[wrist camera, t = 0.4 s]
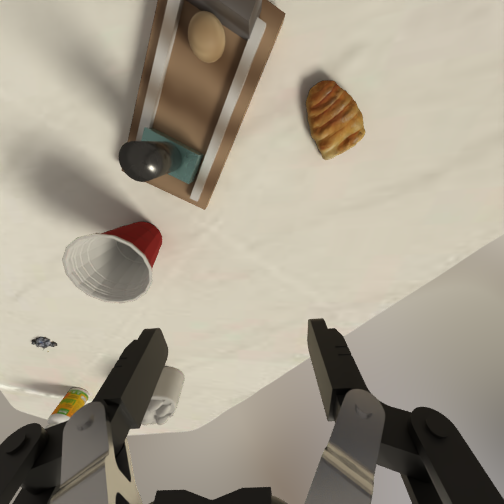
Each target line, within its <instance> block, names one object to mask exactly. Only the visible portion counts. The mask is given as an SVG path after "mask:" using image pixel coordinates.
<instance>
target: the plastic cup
mask: <svg viewBox="0 0 504 504" xmlns="http://www.w3.org/2000/svg"><path fill="white" fill-rule="evenodd" d="M161 245H162V236H161V233H160V231H159V230H158V229H157V228H156V227H155V226H154V225H152V224H150V223H147V222H137V223H133V224H130V225H126V226H122V227H119V228H116V229H113V230H110V231H107V232H104V233H95V234H91V235H86V236H82V237H78V238H76V239H75V240H74V241H73V242H71V243H70V244H69V245H68V246H67V247H66V249H65V252H64V256H63V259H62V261H63V265H64V269H65V273H66V275H67V276H68V277H69V279H70V280H71V281H72V282H73V284H74V285H75V286H76V287H77V288H78V289H80V290H81V291H83V292H84V293H86V294H87V295H89V296H90V297H93V298H96V299H99V300H102V301H104V302H112V303H126V302H130V301H135V300H137V299H139V298H140V297H142V296H143V295H145V294H146V293H147V291H148V290H149V288H150V286H151V284H152V267H153V265H154V262H155V260H156V257H157V255H158V252H159V249H160V247H161Z"/></svg>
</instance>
